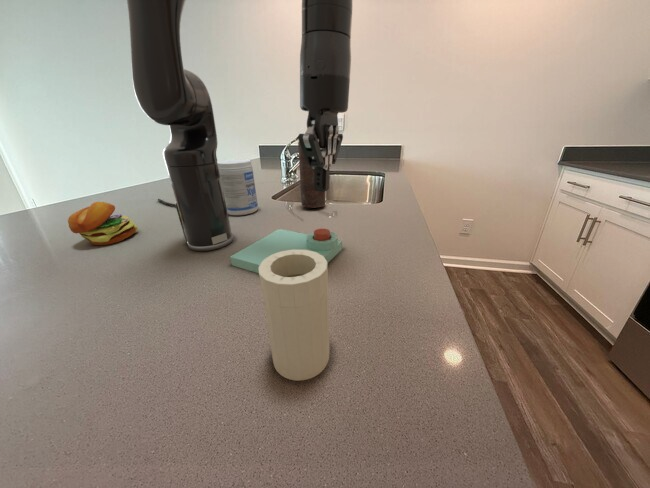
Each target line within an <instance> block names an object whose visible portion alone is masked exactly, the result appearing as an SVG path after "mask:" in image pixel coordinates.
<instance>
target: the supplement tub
mask: <svg viewBox="0 0 650 488" xmlns="http://www.w3.org/2000/svg"><path fill="white" fill-rule="evenodd" d="M217 162H218V167H219V172H220V177H221V182H222V187H223V192H224V197H225V202H226V207H227V212H228V215H230V216H245V215H250V214H253V213H256V212H257V210H258V209H259V203H258V197H257V190H256V182H255V177H254V168H253V164H252V160H251V159H246V158H240V159H239V158H237V159H236V158H235V159H225V160H219V161H217Z"/></svg>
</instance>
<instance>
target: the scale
mask: <svg viewBox="0 0 650 488" xmlns="http://www.w3.org/2000/svg"><path fill="white" fill-rule="evenodd" d="M342 249H343V240H339V239H338V234H336V233H335V232H333V231H330V239H329V240H326V241H318V240H314V231H313V232H310V233H309V234H307V233H302V232H298V231H293V230H288V229H281V228H278V229H277V230H275V231H273V232H271V233H270V234H268V235H265V236H264V237H261V238H260V239H259V240H257V241H255V242H253V243H251V244H250V245H248V246H246V247H244V248H243V249H241V250H239V251H237V252H236V253H233V254H232V255H230V256H229V259H230V264H231V266H232V267H236V268H239V269H242V270H246V271H249V272H252V273H256V274H259V270H258V268H259V266H260V264H261V263H262V261H263V260H264V259H266V258H267V257H269V256H270V255H272V254H275V253H278V252H281V251H287V250H309V251H314V252H317V253H319V254H320V255H322V256H324V258H325V259H326V261H327V263H328V264H329V263H330V262H331V260H333V259H334V258H335V257H336V255H338V254H339V253H340V252H341V251H342Z"/></svg>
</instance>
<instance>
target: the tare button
mask: <svg viewBox="0 0 650 488" xmlns="http://www.w3.org/2000/svg"><path fill="white" fill-rule="evenodd" d="M313 232H314V240H318V241H326V240H329V239H330V232H331V230H330V229H328V228H317V229H314V230H313Z"/></svg>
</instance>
